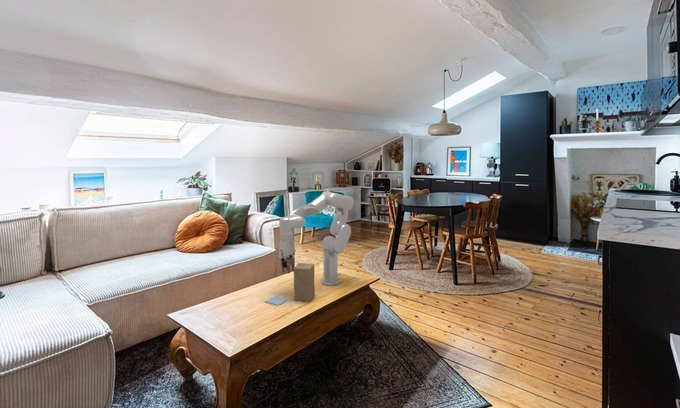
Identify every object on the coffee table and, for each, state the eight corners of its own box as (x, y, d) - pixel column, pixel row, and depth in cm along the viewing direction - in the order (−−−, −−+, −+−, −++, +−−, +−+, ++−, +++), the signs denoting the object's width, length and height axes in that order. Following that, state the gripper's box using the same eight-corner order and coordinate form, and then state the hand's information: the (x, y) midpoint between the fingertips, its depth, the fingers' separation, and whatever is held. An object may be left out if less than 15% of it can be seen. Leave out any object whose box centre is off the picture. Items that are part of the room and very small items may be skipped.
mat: (275, 296, 211) (275, 295, 210) (288, 299, 206) (288, 298, 205) (264, 302, 202) (264, 301, 202) (277, 305, 197) (277, 304, 197)
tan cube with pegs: (287, 268, 218) (286, 256, 216) (295, 270, 215) (294, 257, 213) (281, 271, 213) (280, 259, 211) (289, 273, 210) (288, 260, 208)
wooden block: (310, 301, 203) (309, 269, 200) (293, 300, 205) (293, 267, 202) (314, 295, 212) (314, 263, 210) (299, 293, 214) (298, 262, 212)
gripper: (290, 233, 219) (291, 260, 222) (272, 240, 205) (273, 269, 208) (300, 234, 216) (301, 262, 219) (282, 241, 201) (283, 271, 204)
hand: (287, 265), depth 213 cm, fingers closed on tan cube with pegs, 6 cm apart
